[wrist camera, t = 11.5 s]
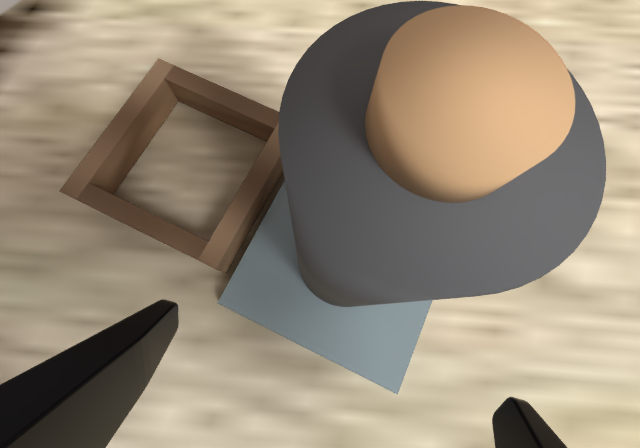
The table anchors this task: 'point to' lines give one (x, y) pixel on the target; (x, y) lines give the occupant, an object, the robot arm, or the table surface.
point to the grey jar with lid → (435, 156)
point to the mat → (320, 307)
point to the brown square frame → (138, 130)
